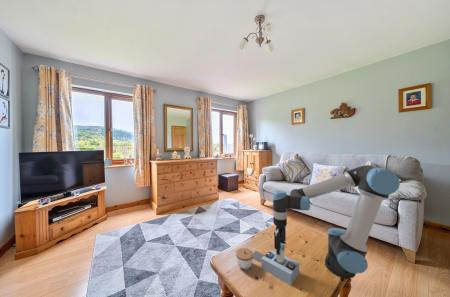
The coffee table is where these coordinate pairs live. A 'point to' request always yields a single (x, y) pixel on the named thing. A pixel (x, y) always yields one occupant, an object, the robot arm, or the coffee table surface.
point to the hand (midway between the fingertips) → (280, 256)
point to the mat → (257, 256)
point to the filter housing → (280, 268)
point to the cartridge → (281, 255)
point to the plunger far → (269, 255)
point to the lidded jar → (244, 257)
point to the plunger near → (291, 266)
